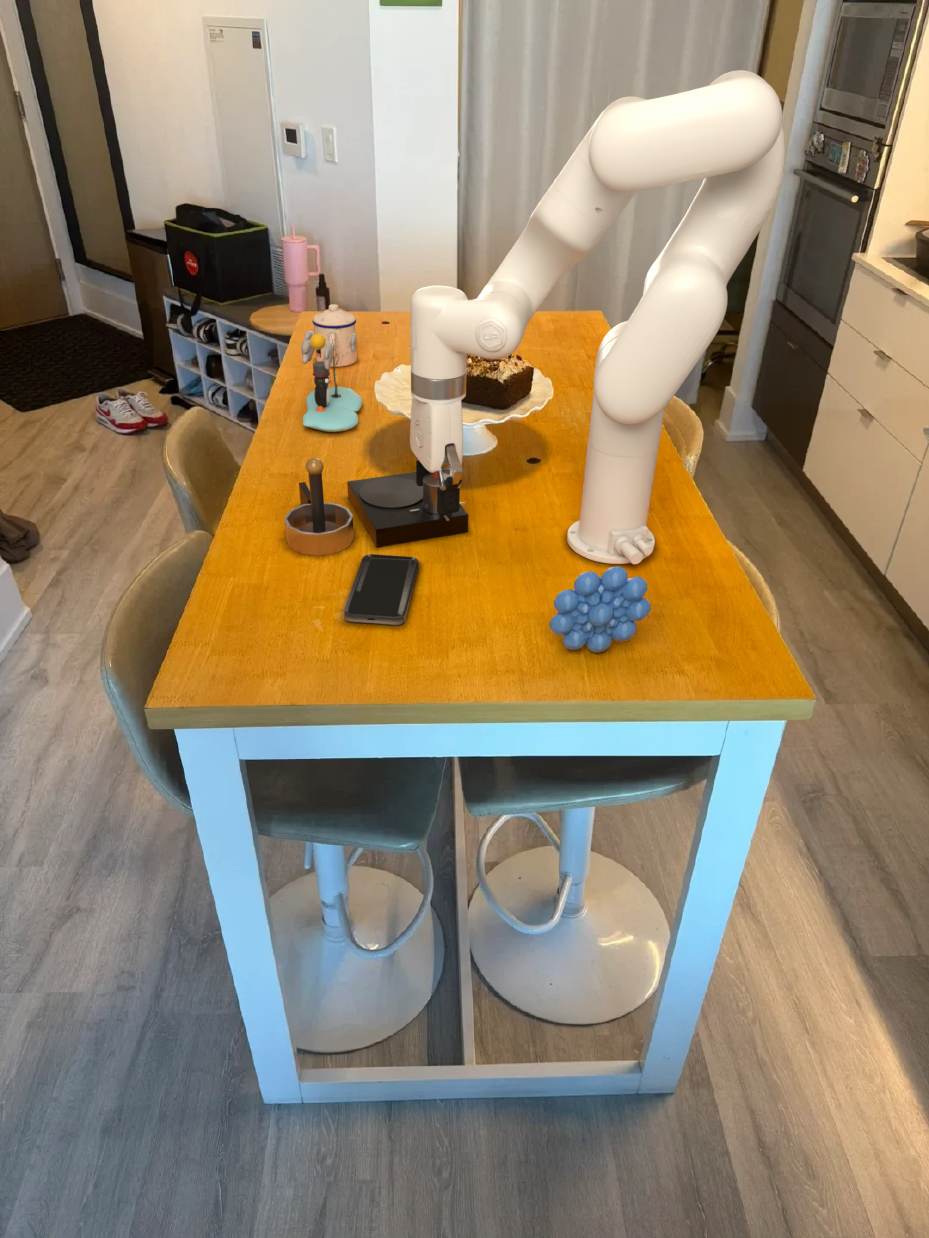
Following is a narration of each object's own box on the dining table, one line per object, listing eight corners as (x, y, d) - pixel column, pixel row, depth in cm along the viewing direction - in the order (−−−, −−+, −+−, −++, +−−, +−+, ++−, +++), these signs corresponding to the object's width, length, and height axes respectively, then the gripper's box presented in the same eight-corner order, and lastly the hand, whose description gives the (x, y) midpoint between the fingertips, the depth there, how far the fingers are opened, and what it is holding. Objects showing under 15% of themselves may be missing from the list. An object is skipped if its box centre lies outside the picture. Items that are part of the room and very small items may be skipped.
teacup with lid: (317, 353, 197) (313, 298, 191) (359, 354, 197) (357, 299, 191) (311, 372, 187) (307, 315, 181) (355, 373, 188) (352, 316, 181)
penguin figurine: (356, 437, 161) (352, 353, 152) (296, 436, 160) (288, 351, 152) (365, 396, 177) (362, 317, 169) (310, 395, 177) (304, 316, 168)
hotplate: (475, 534, 133) (475, 515, 131) (378, 550, 128) (377, 531, 127) (437, 485, 146) (437, 467, 144) (348, 498, 141) (347, 480, 140)
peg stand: (347, 546, 129) (342, 465, 122) (303, 553, 127) (295, 471, 120) (336, 525, 134) (331, 446, 127) (293, 532, 132) (285, 452, 125)
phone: (419, 557, 125) (403, 618, 112) (419, 564, 125) (403, 626, 113) (363, 553, 125) (341, 614, 113) (363, 560, 126) (341, 621, 114)
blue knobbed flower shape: (638, 632, 113) (651, 549, 107) (646, 665, 108) (660, 579, 101) (545, 629, 113) (552, 546, 107) (548, 662, 108) (556, 576, 101)
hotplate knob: (457, 511, 132) (457, 481, 129) (428, 516, 131) (428, 486, 128) (447, 498, 136) (447, 469, 133) (419, 502, 134) (418, 473, 131)
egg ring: (360, 549, 129) (359, 524, 126) (294, 560, 126) (292, 535, 123) (333, 501, 140) (332, 478, 138) (273, 510, 138) (270, 486, 135)
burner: (434, 502, 134) (434, 501, 134) (369, 512, 131) (369, 511, 131) (413, 474, 142) (413, 473, 142) (351, 483, 139) (351, 482, 139)
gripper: (393, 365, 128) (395, 476, 138) (433, 410, 115) (432, 529, 125) (443, 360, 130) (441, 470, 140) (488, 403, 117) (482, 521, 127)
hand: (437, 497), depth 132 cm, fingers open, 8 cm apart
